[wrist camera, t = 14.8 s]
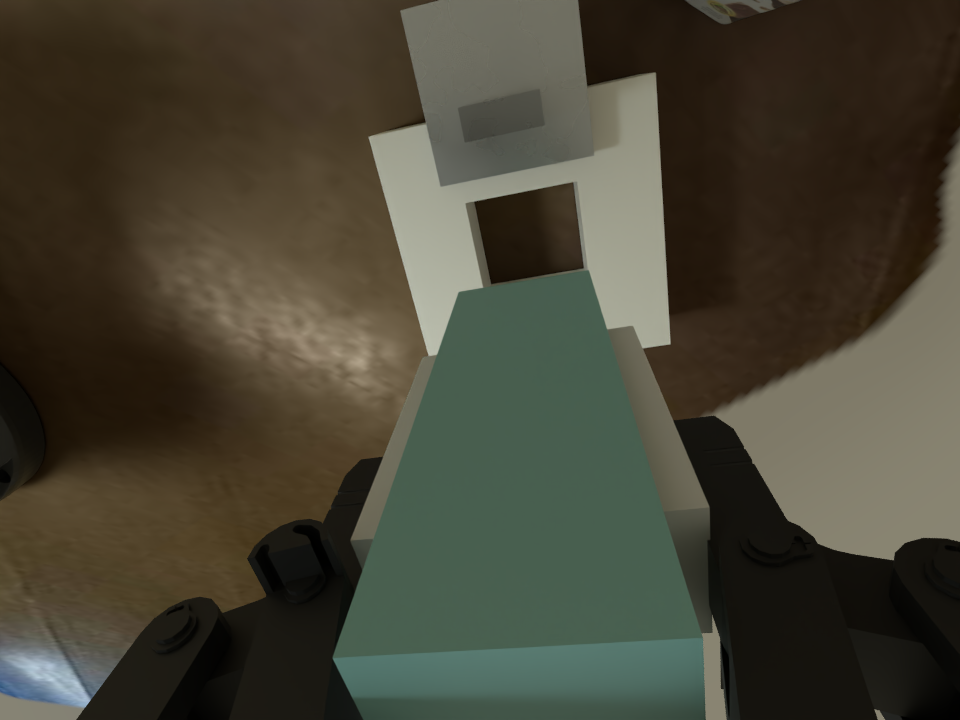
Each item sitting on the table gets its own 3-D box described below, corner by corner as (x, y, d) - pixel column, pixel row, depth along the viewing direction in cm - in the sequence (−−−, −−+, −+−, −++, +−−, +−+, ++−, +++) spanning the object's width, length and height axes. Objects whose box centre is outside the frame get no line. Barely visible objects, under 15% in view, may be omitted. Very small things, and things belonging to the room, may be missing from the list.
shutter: (443, 184, 25) (425, 204, 21) (404, 12, 22) (374, -4, 18) (592, 153, 24) (605, 168, 20) (572, -32, 21) (583, -60, 17)
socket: (443, 351, 34) (434, 378, 31) (386, 131, 28) (368, 136, 25) (656, 318, 32) (670, 344, 29) (640, 74, 26) (655, 72, 23)
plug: (484, 400, 18) (420, 834, 8) (458, 292, 17) (332, 658, 6) (602, 385, 18) (708, 834, 7) (589, 269, 16) (703, 637, 5)
